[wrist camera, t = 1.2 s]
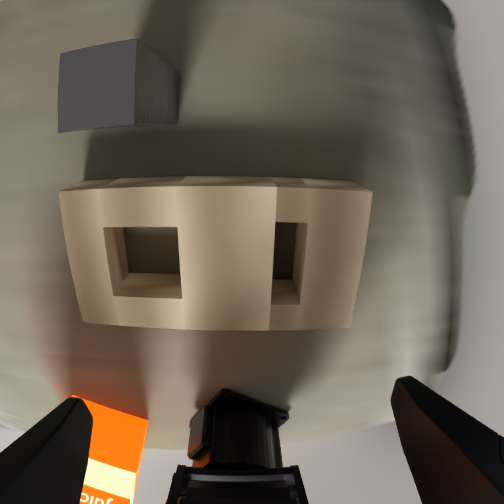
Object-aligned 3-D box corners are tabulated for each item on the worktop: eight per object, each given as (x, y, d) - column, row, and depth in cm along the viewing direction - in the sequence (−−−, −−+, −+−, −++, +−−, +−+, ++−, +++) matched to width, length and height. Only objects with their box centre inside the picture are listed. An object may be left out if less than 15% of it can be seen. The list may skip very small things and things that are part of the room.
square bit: (178, 71, 15) (137, 38, 8) (177, 123, 16) (133, 123, 9) (126, 76, 15) (60, 53, 8) (125, 126, 16) (58, 132, 9)
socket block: (353, 181, 18) (372, 192, 15) (337, 302, 21) (350, 328, 18) (82, 180, 17) (58, 191, 14) (99, 298, 20) (83, 322, 17)
